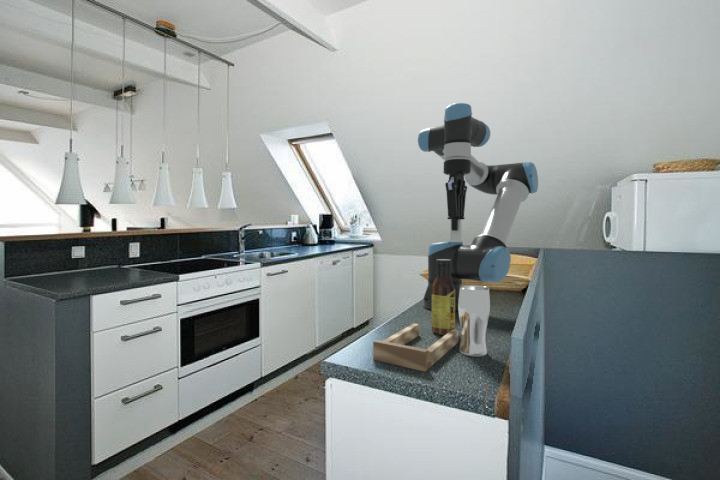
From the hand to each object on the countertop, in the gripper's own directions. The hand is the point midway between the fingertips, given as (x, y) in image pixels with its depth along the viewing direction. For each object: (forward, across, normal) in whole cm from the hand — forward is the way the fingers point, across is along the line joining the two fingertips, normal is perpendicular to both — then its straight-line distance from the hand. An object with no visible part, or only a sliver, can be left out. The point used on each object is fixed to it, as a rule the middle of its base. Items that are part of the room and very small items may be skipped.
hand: (455, 241), depth 108 cm
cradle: (+24, +27, 0) cm, 36 cm away
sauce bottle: (+24, +10, 0) cm, 26 cm away
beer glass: (+24, +21, +11) cm, 34 cm away
